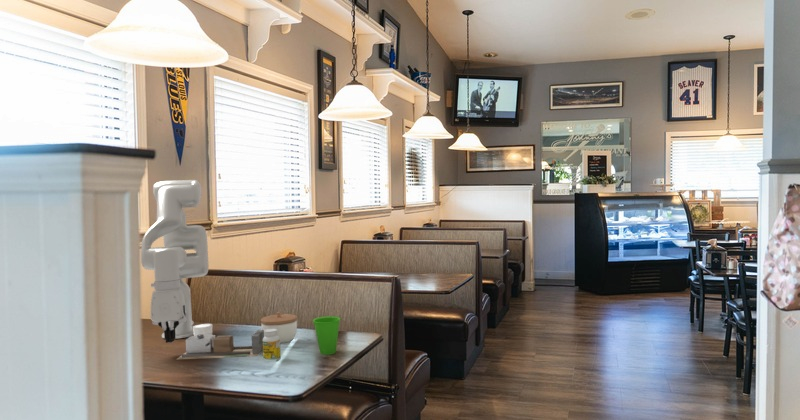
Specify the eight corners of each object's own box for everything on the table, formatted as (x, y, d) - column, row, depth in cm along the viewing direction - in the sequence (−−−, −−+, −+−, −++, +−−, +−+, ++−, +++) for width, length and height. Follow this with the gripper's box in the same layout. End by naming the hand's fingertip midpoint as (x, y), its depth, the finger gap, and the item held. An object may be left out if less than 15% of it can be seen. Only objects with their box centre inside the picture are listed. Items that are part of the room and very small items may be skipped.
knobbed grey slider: (192, 350, 186) (191, 333, 186) (215, 349, 186) (215, 332, 186) (183, 357, 179) (182, 339, 179) (208, 356, 179) (207, 338, 179)
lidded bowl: (255, 343, 199) (254, 312, 198) (287, 336, 207) (285, 307, 207) (272, 350, 189) (271, 317, 189) (304, 342, 197) (303, 311, 197)
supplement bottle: (284, 358, 179) (282, 328, 178) (275, 363, 174) (273, 332, 173) (269, 357, 180) (267, 327, 180) (260, 362, 175) (258, 331, 175)
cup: (324, 347, 189) (322, 315, 189) (347, 350, 185) (345, 317, 185) (308, 355, 181) (307, 321, 181) (332, 357, 177) (330, 323, 177)
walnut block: (218, 350, 186) (218, 335, 186) (233, 350, 186) (233, 335, 186) (213, 354, 181) (213, 339, 181) (229, 354, 181) (228, 338, 181)
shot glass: (207, 347, 196) (206, 327, 196) (189, 347, 197) (188, 327, 197) (217, 342, 203) (216, 323, 203) (200, 342, 204) (199, 323, 204)
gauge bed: (190, 352, 190) (189, 331, 190) (266, 349, 190) (265, 328, 190) (176, 363, 178) (174, 340, 178) (257, 359, 178) (256, 337, 178)
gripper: (139, 288, 180) (142, 345, 179) (185, 286, 180) (188, 343, 179) (150, 285, 187) (152, 340, 187) (194, 283, 187) (197, 338, 187)
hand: (170, 341), depth 183 cm, fingers closed
